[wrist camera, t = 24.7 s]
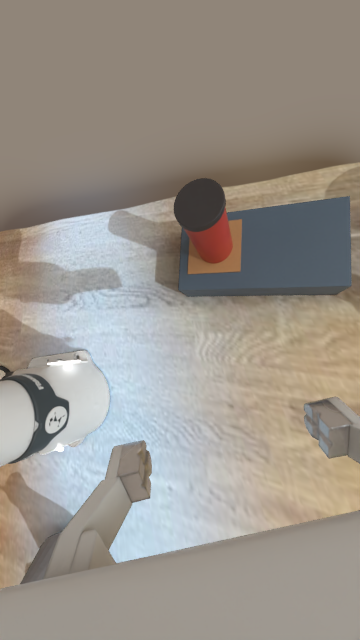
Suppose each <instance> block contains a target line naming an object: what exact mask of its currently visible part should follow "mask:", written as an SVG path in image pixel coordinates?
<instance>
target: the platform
mask: <svg viewBox="0 0 360 640" xmlns="http://www.w3.org/2000/svg"><path fill="white" fill-rule="evenodd" d="M227 218H228V223H229V228H230V233H231V237H232V243H233V247H232V251H231V253H230V255H229V256H228V257H227V258H226V259H225V260H223V261H222V262H219V263H208V262H206V261H204V260H203V259H202V258H201V256H200V255H199V253H198V251H197V250H196V248H195V246H194V245H193V243H192V241H191V240H190V238H189V236H188V235H187V233H186V231H185V230H184V228H183V227H182V235H181V252H180V270H179V288H178V290H179V291H181V292H182V293H183V294H185V295H186V296H263V295H337V294H339V293H340V292H342V291H344V290H345V289H347V288H349V287H350V286H351V236H350V196H347V197H340V198H332V199H325V200H317V201H310V202H303V203H295V204H288V205H280V206H273V207H265V208H258V209H250V210H243V211H236V212H228V213H227Z"/></svg>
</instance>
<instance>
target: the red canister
mask: <svg viewBox="0 0 360 640" xmlns="http://www.w3.org/2000/svg"><path fill="white" fill-rule="evenodd" d="M225 205H226V200H225V195H224V191H223V189H222V187H221V186H220V185H219V184H218V183H217V182H216V181H214V180H212V179H207V178H202V179H197V180H194V181H192V182H190V183H188V184H187V185H185V186H184V187H183V188H182V189H181V191H180V192H179V193H178V195H177V197H176V199H175V203H174V214H175V217H176V219H177V221H178V222H179V224H180V225H181V226H182V227H183V228H184V230H185V231H186V233H187V235H188V236H189V238H190V240H191V241H192V243H193V245H194V246H195V248H196V250H197V251H198V253H199V255H200V256H201V258H202V259H203V260H204V261H206V262H208V263H219V262H222V261H223V260H225V259H226V258H227V257H228V256H229V255H230V253H231V251H232V247H233V243H232V237H231V233H230V228H229V223H228V218H227V213H226V208H225Z"/></svg>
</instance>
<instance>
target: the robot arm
mask: <svg viewBox="0 0 360 640" xmlns="http://www.w3.org/2000/svg"><path fill="white" fill-rule="evenodd" d="M78 356H79V358H78ZM0 369H1V370H2V371H4V372H5V373H6V375H5V376H4V377H3V378H2V379H1V380H0V467H1V466H3V465H5V464H11V463H16V462H18V461H20V460H24V459H27V458H29V457H31V456H33V455H34V454H36V453H39V454H40V455H45V454H48V453H50V452H52V451H55V450H57V451H59V452H61V451H62V450H64V448H62V447H64V446H66V445H69V446H71V447H76V446H78V445H80V444H81V443H82V442H83V440H84V439H85V437H86V436H87V435H88V434H90V433H92V432H93V431H95V430H96V429H97V428H99V427H100V425H101V424H102V423H103V421H104V420H105V418H106V416H107V413H108V409H109V404H110V393H109V387H108V384H107V381H106V379H105V377H104V375H103V373H102V372H101V371H100V370H99V369H98V368H97V367H96V366H95V364H94V363H93V361H92V359H91V356H90V354H89V353H88V351H86V350H81V351H75V352H68V353H62V354H56V355H50V356H43V357H37V358H33V359H32V360H31V362H30V363H29V365H28V367H27V369H18V370H16V371H15V372H10V371H9V370H8V369H7V368H5V367H3V366H0ZM304 410H305V412H306V415H305V416H304V422H305V425H306V428H307V430H308V431H309V433H310V434H311V436H312V437H313V438H315V439H317V440H319V446H320V448H321V449H322V450H323V452H324V453H325V454H326V456H327V457H328V458H335V457H340V456H345V455H348V457H350V458H352V459H353V460H355V461H356V462H358V463H360V417H359V416H358V415H357V414H356V413H355V412H354V411H353V410H351V409H350V408H349V407H348V406H347V405H346V404H345V403H344V402H342V401H341V400H340V399H339V398H338V397H331V398H327V399H322V400H318V401H314V402H310V403H306V404H305V405H304ZM151 473H152V464H151V457H150V453H149V451H147V450H146V443H145V441H138V442H133V443H127V444H123V445H118V446H114V448H113V449H112V453H111V457H110V461H109V465H108V469H107V473H106V477H105V480H102V481H101V482H100V483H99V485H98V486H97V487H96V489H95V490H94V491H93V492H92V494H91V495H90V496H89V498H88V499H87V500H86V501H85V503H84V504H83V505H82V507H81V508H80V509H79V510H78V512H77V513H76V514H75V516H74V517H73V518H72V519H71V521H70V522H69V523H68V525H67V526H66V527H65V528H64V530H63V531H62V532H61V533H60V535H59V537H58V540H57V542H56V545H55V548H54V551H53V553H52V556H51V559H50V562H49V565H48V567H47V570H46V573H45V576H44V578H43V580H38V581H34V582H29V583H25V584H20V585H15V586H11V587H6V588H2V589H0V640H360V510H359V511H354V512H350V513H345V514H341V515H336V516H331V517H327V518H322V519H318V520H313V521H308V522H304V523H299V524H295V525H290V526H286V527H281V528H276V529H272V530H267V531H263V532H258V533H254V534H249V535H244V536H240V537H235V538H231V539H226V540H222V541H217V542H213V543H208V544H203V545H199V546H194V547H190V548H185V549H181V550H176V551H171V552H167V553H162V554H158V555H153V556H149V557H144V558H139V559H135V560H130V561H126V562H121V563H117V564H116V562H115V561H114V559H113V557H112V556H111V554H110V552H109V551H108V550H109V548H110V546H111V544H112V543H113V541H114V539H115V537H116V535H117V533H118V531H119V529H120V527H121V525H122V523H123V521H124V519H125V517H126V515H127V513H128V511H129V510H130V508H131V506H132V503H133V502H137V501H141V500H145V499H149V498H150V490H151V482H150V479H149V476H150V475H151Z"/></svg>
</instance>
